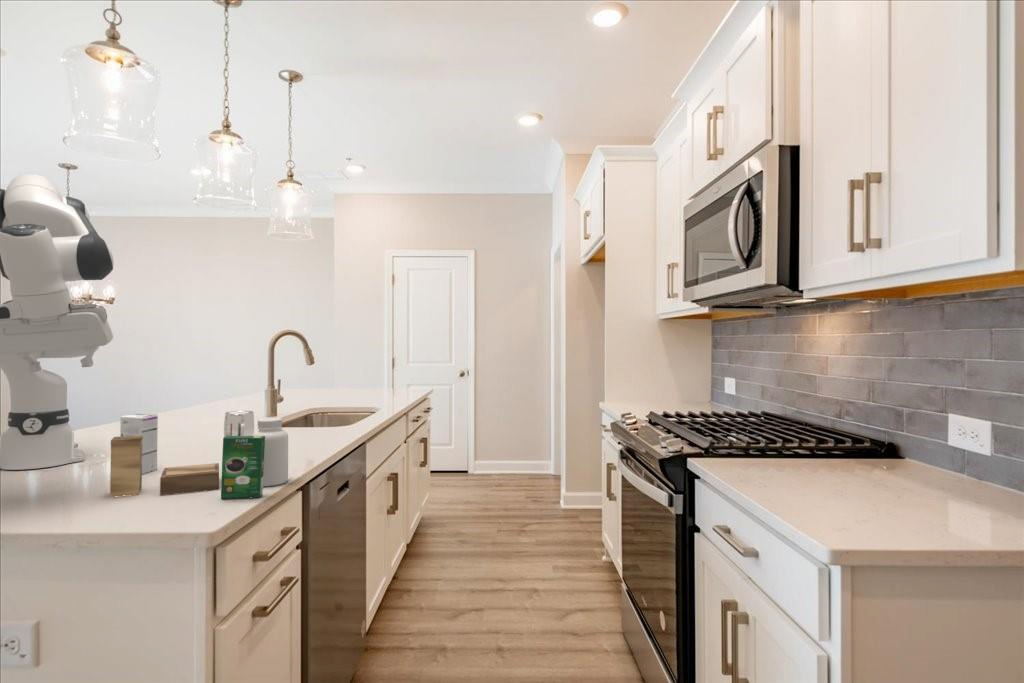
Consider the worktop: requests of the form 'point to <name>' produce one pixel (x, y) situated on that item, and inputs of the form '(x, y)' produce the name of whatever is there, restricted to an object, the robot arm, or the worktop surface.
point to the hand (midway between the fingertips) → (62, 368)
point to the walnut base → (189, 478)
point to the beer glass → (239, 423)
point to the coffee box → (242, 466)
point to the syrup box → (149, 430)
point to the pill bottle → (274, 451)
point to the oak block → (126, 465)
